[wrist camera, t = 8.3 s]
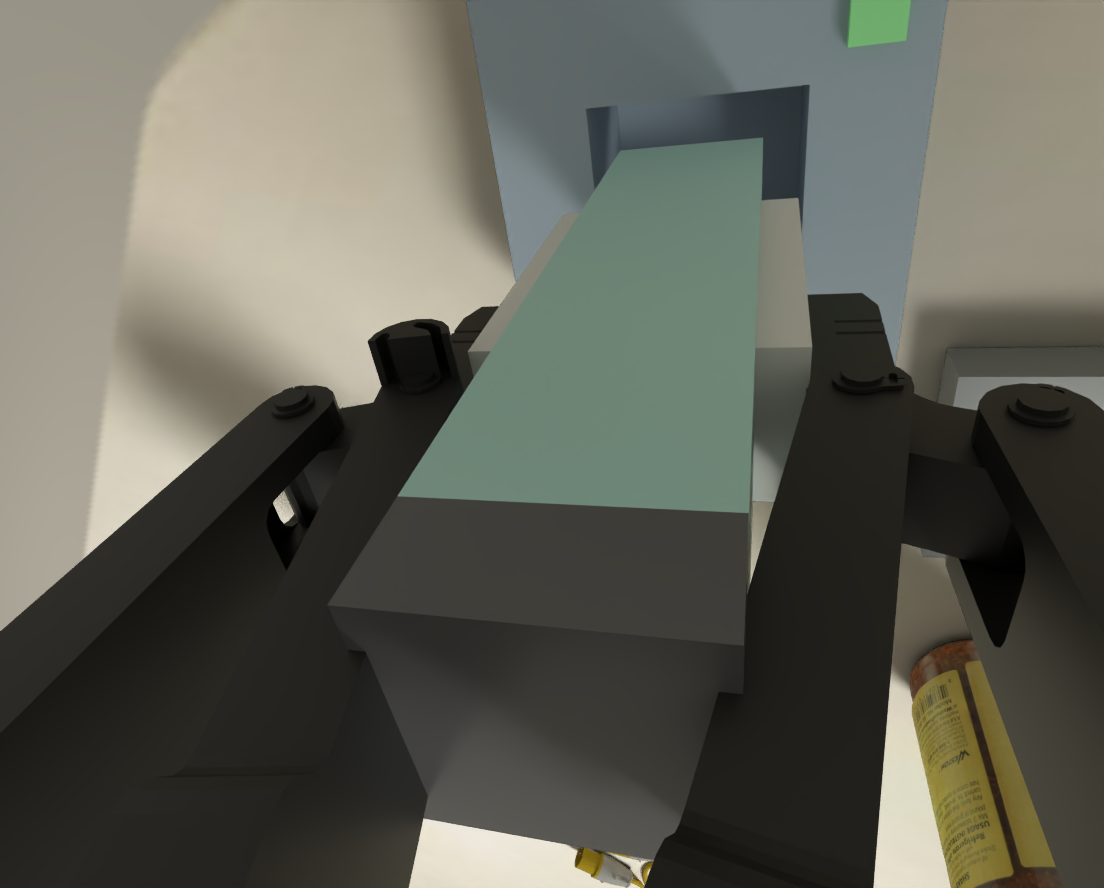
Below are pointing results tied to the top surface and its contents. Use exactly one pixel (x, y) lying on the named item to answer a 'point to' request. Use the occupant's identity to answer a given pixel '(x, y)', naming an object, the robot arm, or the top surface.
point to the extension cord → (609, 868)
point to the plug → (584, 523)
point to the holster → (1018, 375)
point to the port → (722, 113)
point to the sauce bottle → (975, 777)
